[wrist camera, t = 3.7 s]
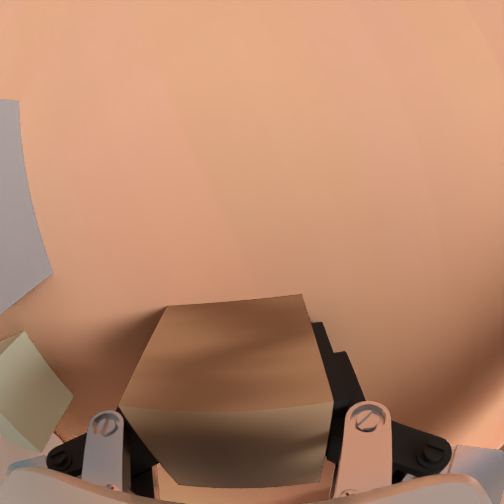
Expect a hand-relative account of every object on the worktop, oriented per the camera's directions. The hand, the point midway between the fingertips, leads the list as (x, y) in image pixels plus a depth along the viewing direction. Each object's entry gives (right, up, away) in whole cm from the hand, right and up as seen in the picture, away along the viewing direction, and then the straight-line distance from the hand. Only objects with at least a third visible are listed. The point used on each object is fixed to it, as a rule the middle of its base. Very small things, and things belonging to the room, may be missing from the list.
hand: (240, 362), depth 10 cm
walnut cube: (0, 0, 0) cm, 1 cm away
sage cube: (-14, -3, +2) cm, 14 cm away
